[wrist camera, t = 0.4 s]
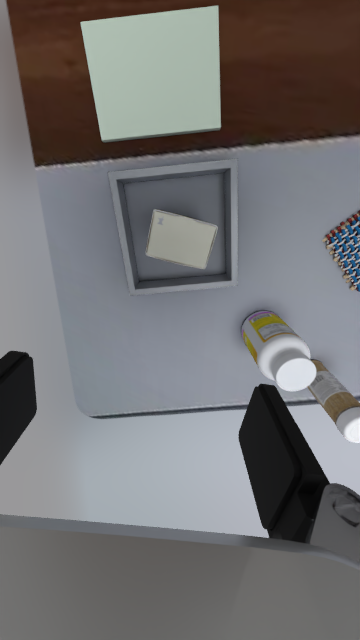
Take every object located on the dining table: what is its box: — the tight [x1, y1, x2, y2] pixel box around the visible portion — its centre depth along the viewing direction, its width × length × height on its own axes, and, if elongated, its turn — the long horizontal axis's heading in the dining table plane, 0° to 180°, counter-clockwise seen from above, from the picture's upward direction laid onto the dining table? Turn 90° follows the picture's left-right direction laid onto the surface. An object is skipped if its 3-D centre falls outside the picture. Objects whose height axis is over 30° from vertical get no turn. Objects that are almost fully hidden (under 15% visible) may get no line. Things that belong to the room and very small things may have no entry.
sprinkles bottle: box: [307, 360, 360, 443], centre depth 37 cm, size 5×5×14 cm
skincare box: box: [145, 209, 218, 269], centre depth 29 cm, size 6×4×12 cm
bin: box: [108, 159, 238, 296], centre depth 32 cm, size 15×15×4 cm
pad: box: [80, 6, 221, 143], centre depth 27 cm, size 14×10×1 cm
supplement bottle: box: [241, 311, 316, 391], centre depth 34 cm, size 7×7×13 cm
